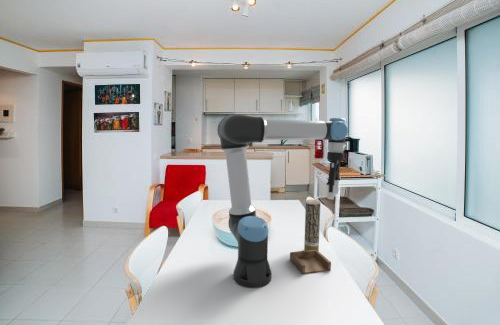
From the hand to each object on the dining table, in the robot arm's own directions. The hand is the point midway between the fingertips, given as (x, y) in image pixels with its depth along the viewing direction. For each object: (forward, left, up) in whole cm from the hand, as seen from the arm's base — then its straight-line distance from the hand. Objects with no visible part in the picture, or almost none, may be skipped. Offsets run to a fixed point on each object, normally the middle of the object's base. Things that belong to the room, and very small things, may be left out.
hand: (332, 196), depth 135 cm
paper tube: (-9, +2, -28) cm, 29 cm away
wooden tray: (-16, -10, -27) cm, 34 cm away
